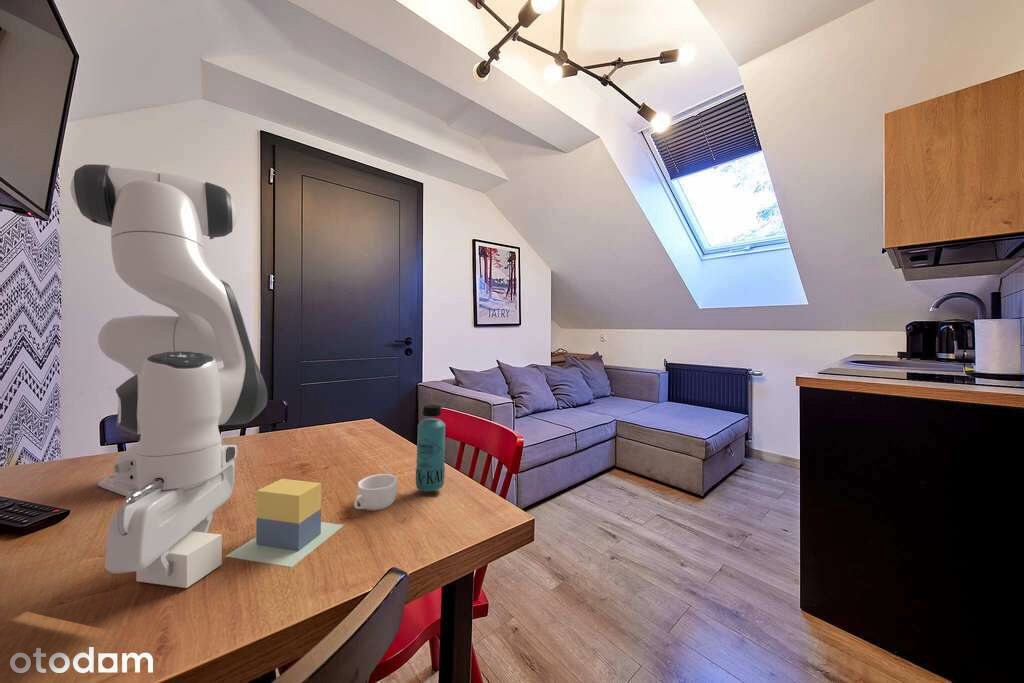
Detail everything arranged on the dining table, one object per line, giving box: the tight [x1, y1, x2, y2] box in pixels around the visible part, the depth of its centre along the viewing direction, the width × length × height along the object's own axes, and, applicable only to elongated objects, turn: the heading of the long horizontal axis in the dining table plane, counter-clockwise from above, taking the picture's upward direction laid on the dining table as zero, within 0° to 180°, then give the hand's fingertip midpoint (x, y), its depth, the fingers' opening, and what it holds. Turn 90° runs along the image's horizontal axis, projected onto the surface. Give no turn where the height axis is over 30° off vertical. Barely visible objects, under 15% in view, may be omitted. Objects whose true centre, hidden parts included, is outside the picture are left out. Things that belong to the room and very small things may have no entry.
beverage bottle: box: [415, 404, 446, 492], centre depth 81 cm, size 6×7×20 cm
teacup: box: [353, 473, 398, 511], centre depth 72 cm, size 10×8×5 cm
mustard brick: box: [256, 478, 322, 524], centre depth 60 cm, size 8×5×4 cm, turn 80°
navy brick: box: [255, 508, 322, 551], centre depth 60 cm, size 8×5×4 cm, turn 80°
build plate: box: [225, 521, 345, 568], centre depth 60 cm, size 12×12×1 cm
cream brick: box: [135, 530, 223, 589], centre depth 51 cm, size 8×5×4 cm, turn 83°
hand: (180, 561), depth 51 cm, fingers closed on cream brick, 6 cm apart
